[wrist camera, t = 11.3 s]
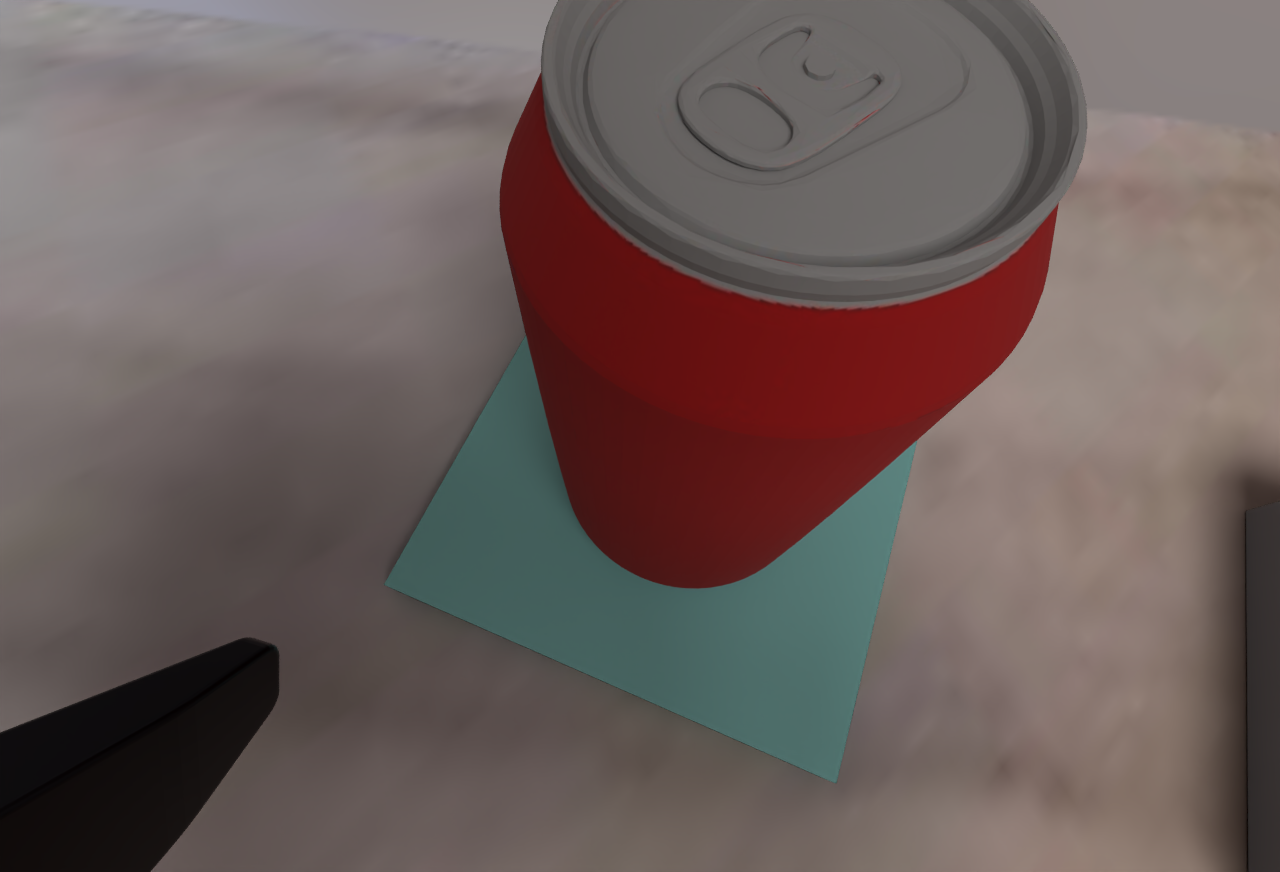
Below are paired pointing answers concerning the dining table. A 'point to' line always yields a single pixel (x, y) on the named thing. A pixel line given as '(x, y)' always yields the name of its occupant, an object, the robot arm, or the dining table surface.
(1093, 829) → the dining table surface
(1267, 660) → the can holder
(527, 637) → the teal mat
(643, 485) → the beverage can
